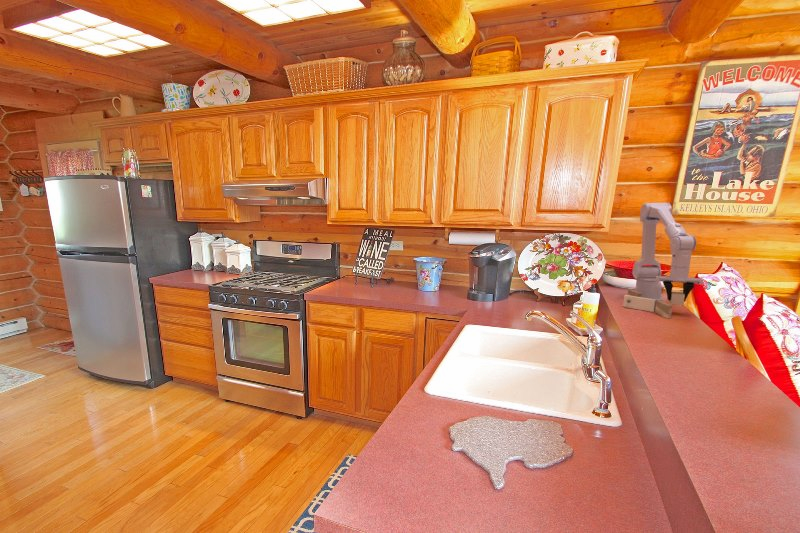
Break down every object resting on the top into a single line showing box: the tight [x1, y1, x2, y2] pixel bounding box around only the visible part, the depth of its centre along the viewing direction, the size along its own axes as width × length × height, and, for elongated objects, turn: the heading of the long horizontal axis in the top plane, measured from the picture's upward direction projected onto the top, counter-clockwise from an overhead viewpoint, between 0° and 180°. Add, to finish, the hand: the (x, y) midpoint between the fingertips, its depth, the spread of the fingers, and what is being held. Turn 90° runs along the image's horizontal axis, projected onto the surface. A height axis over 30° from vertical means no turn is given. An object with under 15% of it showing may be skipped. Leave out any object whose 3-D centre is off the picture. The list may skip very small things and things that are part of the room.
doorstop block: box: [668, 291, 685, 307], centre depth 140 cm, size 4×4×4 cm
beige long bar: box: [627, 289, 673, 319], centre depth 148 cm, size 2×28×5 cm, turn 174°
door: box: [622, 294, 659, 313], centre depth 146 cm, size 2×12×5 cm, turn 40°
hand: (676, 300), depth 140 cm, fingers closed on doorstop block, 4 cm apart
